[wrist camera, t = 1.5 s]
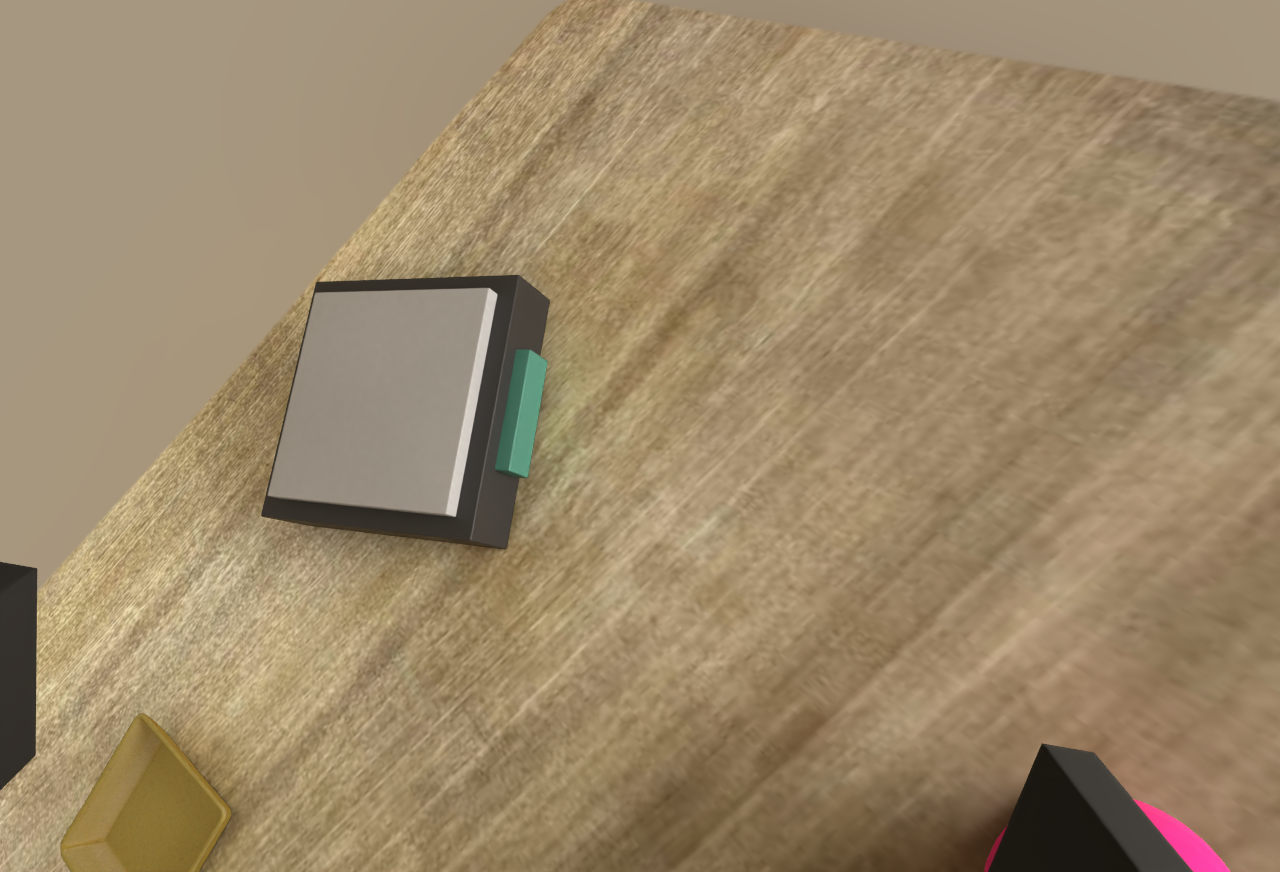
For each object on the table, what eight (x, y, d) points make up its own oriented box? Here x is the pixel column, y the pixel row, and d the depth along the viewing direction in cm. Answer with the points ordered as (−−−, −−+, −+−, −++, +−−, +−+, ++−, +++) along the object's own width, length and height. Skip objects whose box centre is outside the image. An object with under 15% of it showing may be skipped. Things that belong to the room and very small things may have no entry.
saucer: (91, 842, 46) (53, 850, 44) (172, 706, 46) (137, 708, 44) (173, 955, 42) (135, 969, 40) (261, 807, 42) (227, 813, 40)
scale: (564, 299, 43) (525, 266, 39) (521, 551, 40) (475, 540, 36) (355, 303, 48) (304, 275, 45) (305, 525, 46) (247, 513, 42)
